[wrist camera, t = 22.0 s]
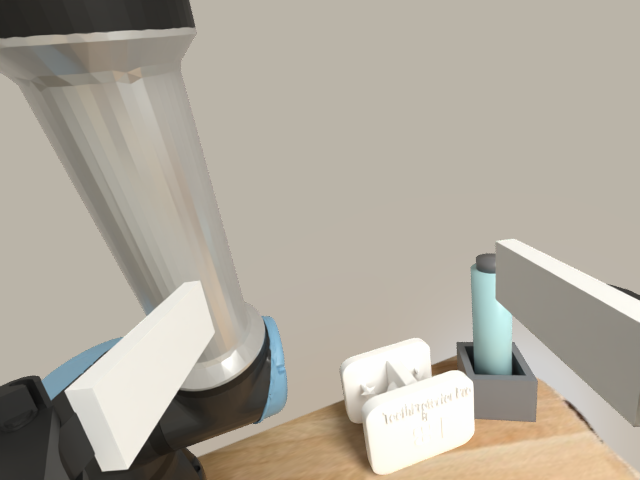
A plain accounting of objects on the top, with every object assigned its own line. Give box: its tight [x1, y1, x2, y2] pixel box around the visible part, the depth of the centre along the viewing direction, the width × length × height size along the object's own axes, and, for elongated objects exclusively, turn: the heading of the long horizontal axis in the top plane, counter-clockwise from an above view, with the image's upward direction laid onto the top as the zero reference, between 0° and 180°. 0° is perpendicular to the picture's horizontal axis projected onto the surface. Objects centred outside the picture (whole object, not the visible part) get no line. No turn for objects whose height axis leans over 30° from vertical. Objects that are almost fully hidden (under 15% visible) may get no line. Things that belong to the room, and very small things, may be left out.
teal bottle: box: [471, 254, 512, 375], centre depth 45 cm, size 5×5×24 cm
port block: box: [457, 342, 538, 422], centre depth 48 cm, size 9×9×7 cm
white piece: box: [340, 338, 474, 475], centre depth 43 cm, size 15×11×12 cm
